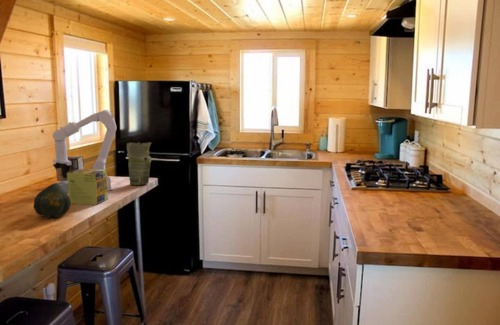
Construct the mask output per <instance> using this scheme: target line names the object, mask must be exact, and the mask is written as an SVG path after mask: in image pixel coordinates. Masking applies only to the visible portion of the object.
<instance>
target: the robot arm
mask: <svg viewBox="0 0 500 325" xmlns="http://www.w3.org/2000/svg"><path fill="white" fill-rule="evenodd" d="M92 122H95V123H97V122H100V123H102V125H104V127H105V128H106V132H105V134H104V138H103V140H102V145H101V147H100V148H99V153H98V155H97V159H96V161H95V163H94V164H93V165H92V168H91V169H100V170H106V167H107V166H106V165H107V164H106V163H107V160H108V159H107V158H108V155H109V153H110V149H111V146H112V143H113V140H114V137H115V135H116V131H117V127H118V126H117V124H116V121H115V117H114V115H113V113H112V112H110V110H108V109H104V110H103V109H102V111H98V112H95V113H92V114H91V115H89V116H87V117H85V118H84V119H82V120H80V121H77V122H75V121H72V122H71V121H69V122H68V123H67V124H66V125H64V126H59V127H60V128H59V129H56V130H55V131H54V132H52V133H53V134H52V138H53V139H54V140H53V141H54V155H55V158H53V159H52V163H53V165H52V166H53V167H54V169H55V170H56V169H57V168H61V169H62V173H63V177H64V178H67V172H69V170H70V168H71V161H69V160H68V158H67V157H68V149H67V148H68V147H67V146H68V145H67V141H66V140H67V139H66V138H67V137H68V138H69V137H71V136H72V135H75V134H77V133H79V132H80V130H81V128H82V127H85V126H86V125H89V124H90V123H92ZM106 176H107V191H108V192H111V191H113V188H112V185H111V184H112V183H111V182H112V180H111V177H110V176H108V175H107V173H106Z"/></svg>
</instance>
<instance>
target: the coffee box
mask: <svg viewBox="0 0 500 325" xmlns="http://www.w3.org/2000/svg"><path fill="white" fill-rule="evenodd" d="M67 158H68V160H69V161H71V168H70V170H69V172H71V171H74V170H77V169H85V166H84V164H85V163H84V156H67Z"/></svg>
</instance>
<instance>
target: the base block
mask: <svg viewBox="0 0 500 325" xmlns="http://www.w3.org/2000/svg"><path fill="white" fill-rule="evenodd" d="M55 183H57V184H59V185H60V187H61V188H62V189H63V190H64V191H65V192H66V193H67V194H68V181H62V182H61V181H57V182H55Z"/></svg>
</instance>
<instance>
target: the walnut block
mask: <svg viewBox="0 0 500 325" xmlns="http://www.w3.org/2000/svg"><path fill="white" fill-rule="evenodd" d="M55 171H56V172H55V173H56V174H55V175H56V181H57V182H62V181H67V178H64V177H63V173H62V169H61V168H57V169H55Z"/></svg>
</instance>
